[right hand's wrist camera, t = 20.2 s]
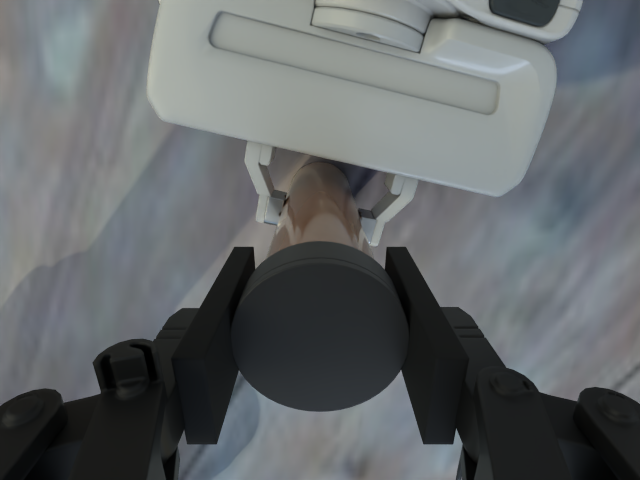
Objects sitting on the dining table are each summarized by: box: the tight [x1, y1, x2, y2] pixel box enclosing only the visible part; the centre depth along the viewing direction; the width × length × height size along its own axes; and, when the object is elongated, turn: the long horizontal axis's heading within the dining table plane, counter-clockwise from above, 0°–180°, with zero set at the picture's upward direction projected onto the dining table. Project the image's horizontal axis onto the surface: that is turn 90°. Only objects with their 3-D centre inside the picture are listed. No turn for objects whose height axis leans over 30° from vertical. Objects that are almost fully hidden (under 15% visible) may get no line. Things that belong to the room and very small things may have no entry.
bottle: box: [266, 162, 374, 259], centre depth 20 cm, size 5×5×18 cm
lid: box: [230, 241, 410, 412], centre depth 11 cm, size 5×5×2 cm
